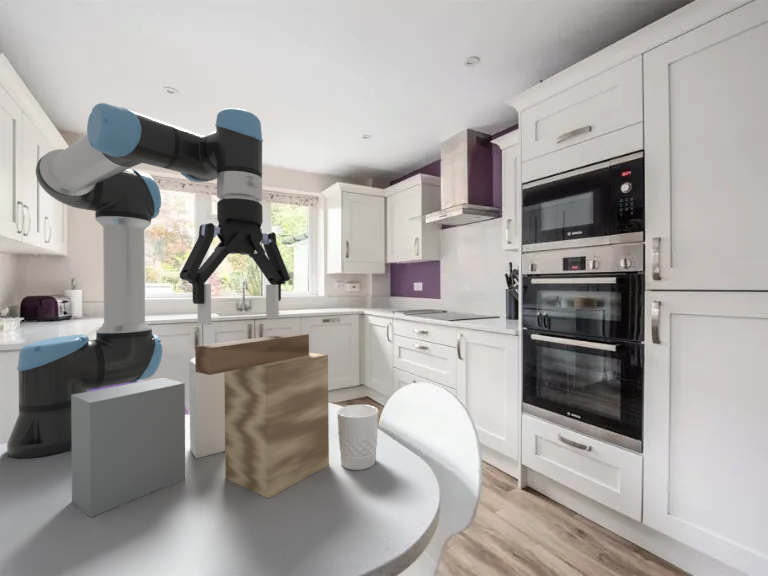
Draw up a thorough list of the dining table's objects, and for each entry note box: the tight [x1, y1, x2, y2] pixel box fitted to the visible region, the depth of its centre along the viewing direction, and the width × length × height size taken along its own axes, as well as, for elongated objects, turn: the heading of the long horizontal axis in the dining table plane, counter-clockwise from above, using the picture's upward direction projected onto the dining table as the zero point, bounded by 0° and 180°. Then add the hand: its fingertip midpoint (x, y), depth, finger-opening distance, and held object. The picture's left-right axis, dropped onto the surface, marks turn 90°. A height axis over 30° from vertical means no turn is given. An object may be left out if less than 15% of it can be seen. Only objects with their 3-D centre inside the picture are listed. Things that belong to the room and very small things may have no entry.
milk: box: [189, 343, 225, 459], centre depth 79 cm, size 6×6×22 cm
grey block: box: [71, 377, 186, 518], centre depth 64 cm, size 8×14×17 cm, turn 145°
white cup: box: [336, 404, 379, 471], centre depth 73 cm, size 8×8×10 cm
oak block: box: [224, 352, 330, 499], centre depth 70 cm, size 12×14×21 cm
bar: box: [194, 332, 310, 375], centre depth 65 cm, size 4×20×4 cm, turn 145°
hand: (241, 321), depth 67 cm, fingers open, 13 cm apart
